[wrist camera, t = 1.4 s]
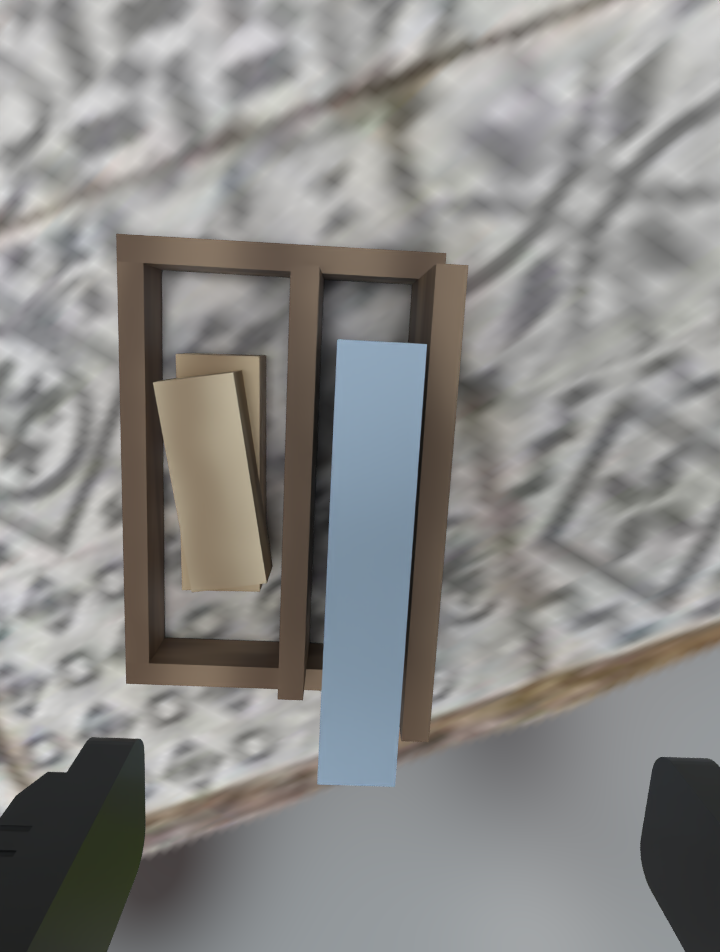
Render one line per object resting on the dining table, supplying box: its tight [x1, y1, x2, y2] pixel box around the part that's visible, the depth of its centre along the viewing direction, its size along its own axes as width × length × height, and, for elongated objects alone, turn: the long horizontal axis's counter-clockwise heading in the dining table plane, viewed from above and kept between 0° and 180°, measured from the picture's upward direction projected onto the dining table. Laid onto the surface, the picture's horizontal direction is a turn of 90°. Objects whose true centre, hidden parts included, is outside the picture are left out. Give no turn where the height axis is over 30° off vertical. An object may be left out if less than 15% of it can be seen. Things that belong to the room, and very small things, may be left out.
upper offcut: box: [153, 370, 273, 592], centre depth 31 cm, size 4×10×2 cm, turn 7°
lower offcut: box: [176, 353, 266, 592], centre depth 34 cm, size 4×12×3 cm, turn 178°
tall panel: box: [317, 339, 427, 787], centre depth 27 cm, size 2×14×16 cm, turn 177°
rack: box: [116, 234, 468, 742], centre depth 30 cm, size 15×22×9 cm
